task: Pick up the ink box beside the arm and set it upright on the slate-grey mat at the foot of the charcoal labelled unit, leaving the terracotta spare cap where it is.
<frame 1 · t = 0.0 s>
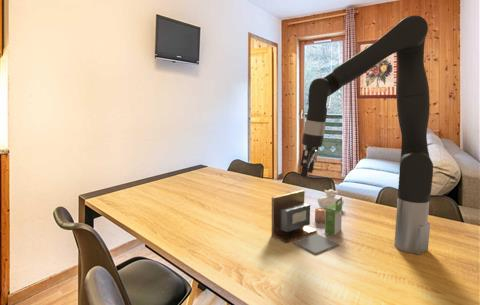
hand: (306, 174, 115), 22 cm above the table, tool pointing down, fingers open, 8 cm apart
spare cap: (320, 221, 127), on the table
bust: (330, 210, 141), on the table
labelled unit: (294, 233, 115), on the table
ink box: (333, 231, 117), on the table
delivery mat: (316, 244, 106), on the table
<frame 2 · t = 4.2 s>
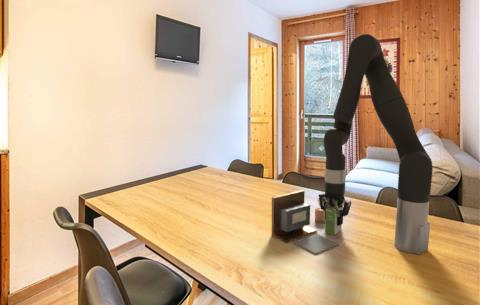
hand: (333, 222, 116), 3 cm above the table, tool pointing down, fingers closed on ink box, 4 cm apart
ink box: (333, 231, 117), on the table, touching gripper
everything else where it was.
when the fingers open (6 cm above the table, at t = 10.8 s): ink box drops 2 cm, resting on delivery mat.
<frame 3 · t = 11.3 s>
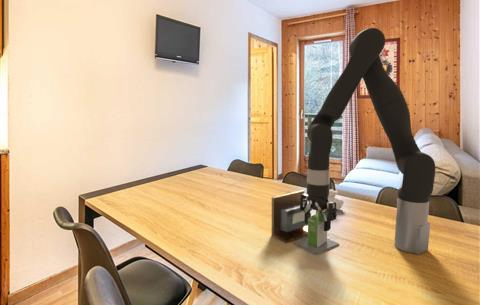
hand: (316, 226, 105), 7 cm above the table, tool pointing down, fingers open, 8 cm apart
ink box: (317, 243, 105), resting on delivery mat
everything else where it was.
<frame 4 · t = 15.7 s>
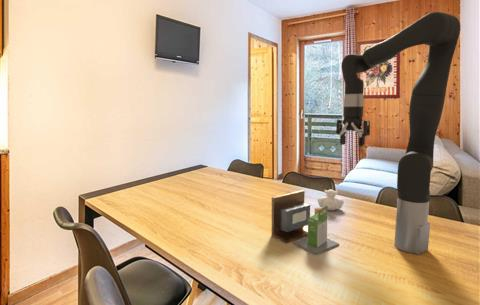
hand: (351, 145, 124), 32 cm above the table, tool pointing down, fingers open, 8 cm apart
at the end: ink box inside the target area on the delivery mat (0.3 cm from its centre), point 0.4 cm above the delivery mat's base; ink box tilted 0°; the gripper is holding nothing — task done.
